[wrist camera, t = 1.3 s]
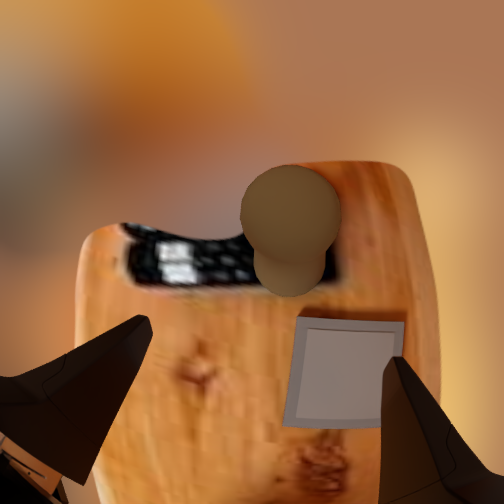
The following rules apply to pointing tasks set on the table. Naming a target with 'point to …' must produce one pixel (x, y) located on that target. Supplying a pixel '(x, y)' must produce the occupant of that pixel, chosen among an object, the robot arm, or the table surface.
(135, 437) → the table surface
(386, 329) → the coaster
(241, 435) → the table surface
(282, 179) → the cork
